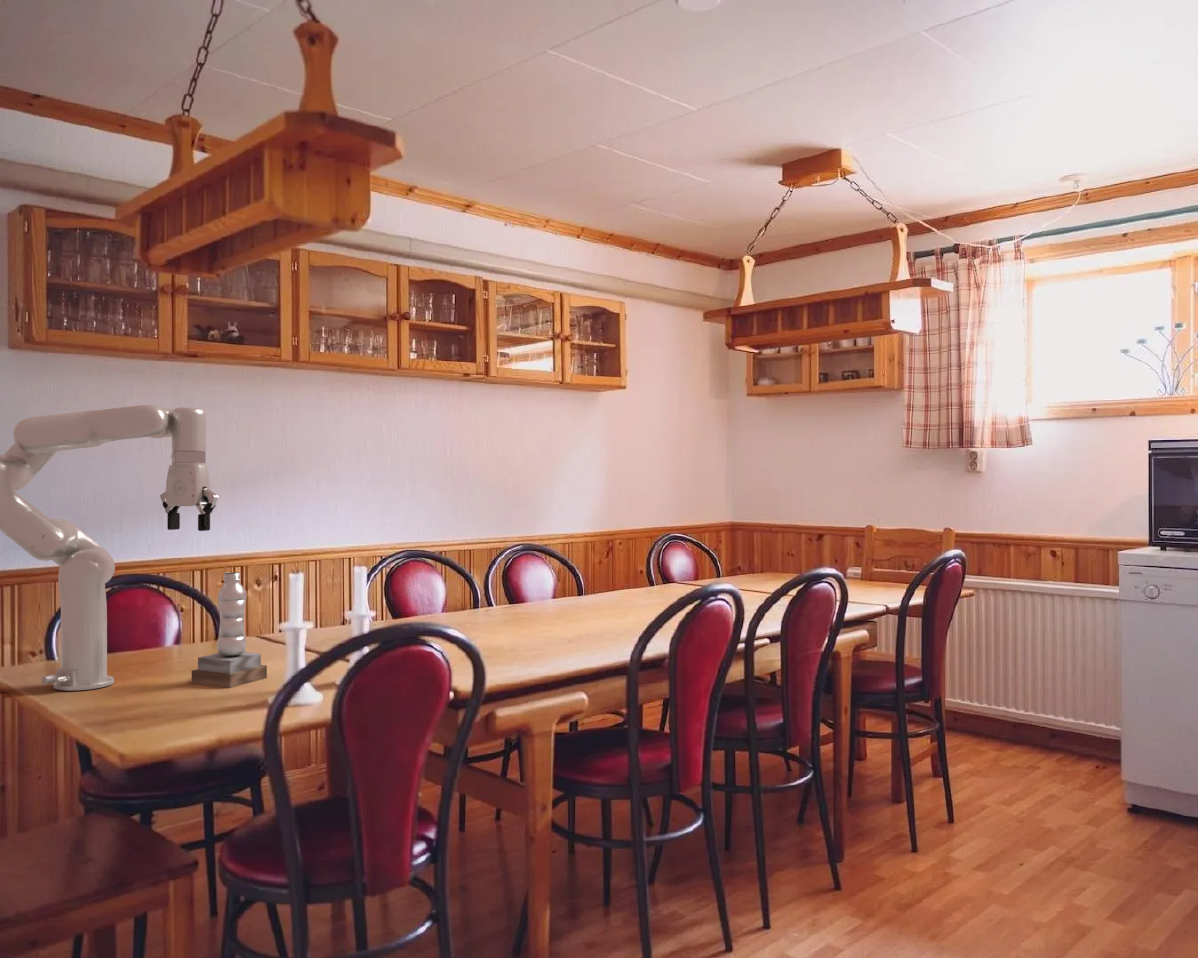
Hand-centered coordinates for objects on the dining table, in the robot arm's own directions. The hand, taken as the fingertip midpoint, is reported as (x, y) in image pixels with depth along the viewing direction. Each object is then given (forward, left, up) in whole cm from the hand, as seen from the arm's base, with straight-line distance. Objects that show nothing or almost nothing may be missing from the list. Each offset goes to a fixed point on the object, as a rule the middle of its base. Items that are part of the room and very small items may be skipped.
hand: (188, 530), depth 231 cm
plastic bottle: (+4, -10, -31) cm, 32 cm away
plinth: (+4, -9, -36) cm, 38 cm away
